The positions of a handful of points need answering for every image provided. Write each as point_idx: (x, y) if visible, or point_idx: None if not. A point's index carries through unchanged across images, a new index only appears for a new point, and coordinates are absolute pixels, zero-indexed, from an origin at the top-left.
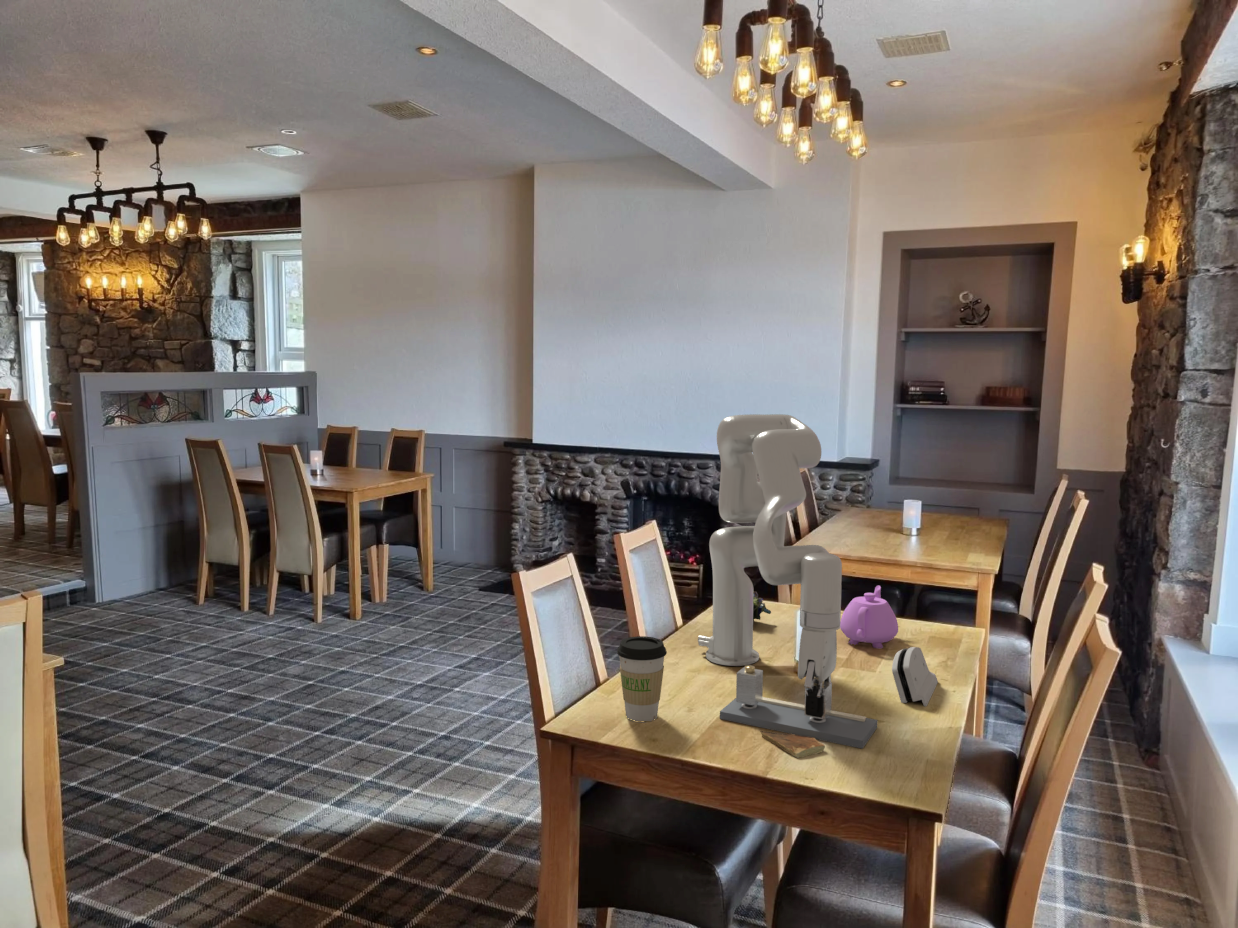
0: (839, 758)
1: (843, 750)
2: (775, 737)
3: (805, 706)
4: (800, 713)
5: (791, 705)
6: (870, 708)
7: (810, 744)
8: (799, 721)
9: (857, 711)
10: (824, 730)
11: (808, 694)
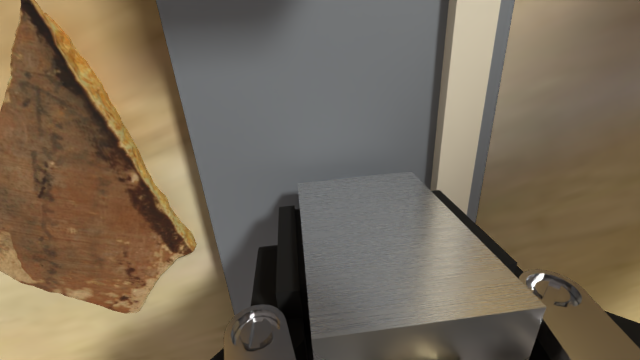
0: (132, 343)
1: (201, 329)
2: (24, 119)
3: (300, 214)
4: (382, 114)
5: (453, 31)
6: (596, 268)
7: (84, 281)
8: (276, 153)
9: (558, 247)
10: (250, 274)
11: (220, 351)
